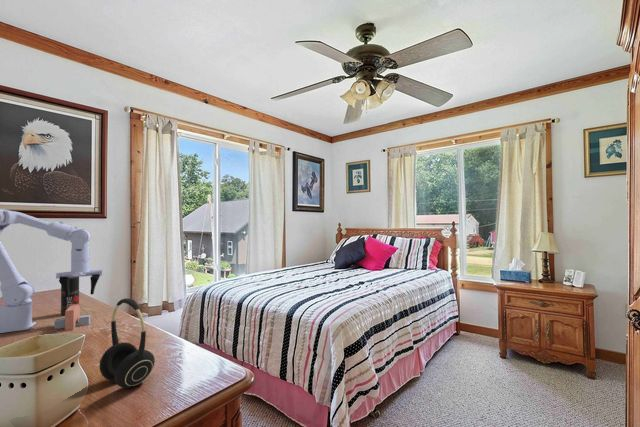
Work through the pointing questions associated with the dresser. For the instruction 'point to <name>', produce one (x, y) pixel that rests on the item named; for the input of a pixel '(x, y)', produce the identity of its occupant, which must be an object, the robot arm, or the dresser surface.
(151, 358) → the headphones
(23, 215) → the robot arm
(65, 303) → the deodorant
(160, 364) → the dresser surface
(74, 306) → the pink rectangular block
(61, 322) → the grey block
